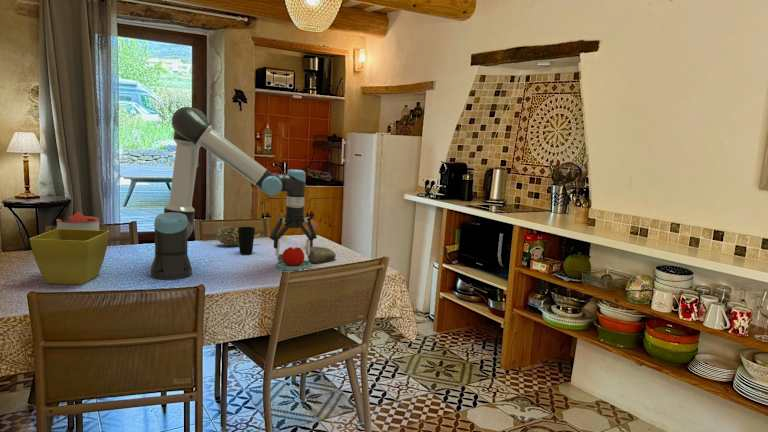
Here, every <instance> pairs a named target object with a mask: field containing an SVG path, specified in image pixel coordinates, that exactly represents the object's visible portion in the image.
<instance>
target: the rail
mask: <svg viewBox="0 0 768 432" xmlns="http://www.w3.org/2000/svg"><path fill="white" fill-rule="evenodd" d="M282 254H283V253H279V257H277V261H280V260H282Z"/></svg>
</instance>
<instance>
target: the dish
mask: <svg viewBox="0 0 768 432" xmlns="http://www.w3.org/2000/svg"><path fill="white" fill-rule="evenodd" d="M275 267H276V268H277V269H279V270H283V271H290V270H298V271H301V270H300V269H306V270H308V268H309V269H310V268H311V267H312V262H311V261H309V260H306V259H304V261H303V263H302V264H301V265H299V266H293V267H292V266H289V265H286V264H285V263H284V262H283V260H280V261H278V260H276V263H275Z"/></svg>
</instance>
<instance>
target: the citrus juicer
mask: <svg viewBox="0 0 768 432" xmlns="http://www.w3.org/2000/svg"><path fill="white" fill-rule="evenodd" d="M100 219H101V218H100V217H97V216H90V215H88V216H86V215H84V214H83V213H82V212H80V211H77V212H75V213H74V214H73V215H72V216H68V221H63V220H62V219H59V218H56V228H55V229H82V230H100Z"/></svg>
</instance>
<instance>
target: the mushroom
mask: <svg viewBox="0 0 768 432" xmlns="http://www.w3.org/2000/svg"><path fill="white" fill-rule="evenodd" d="M311 225H312V227H313V229H314V232H319V231H320V226H319V224H318V223H317V222H316V221H315V220H314V219H311ZM304 228H305V229H306V230H307V231H308V232H309V234H310V235H311V233H310V231H309V228H308V226H307V223H305V225H304ZM311 236H312V235H311ZM312 247H314V240H313V241H312ZM310 248H311V247H310Z"/></svg>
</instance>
